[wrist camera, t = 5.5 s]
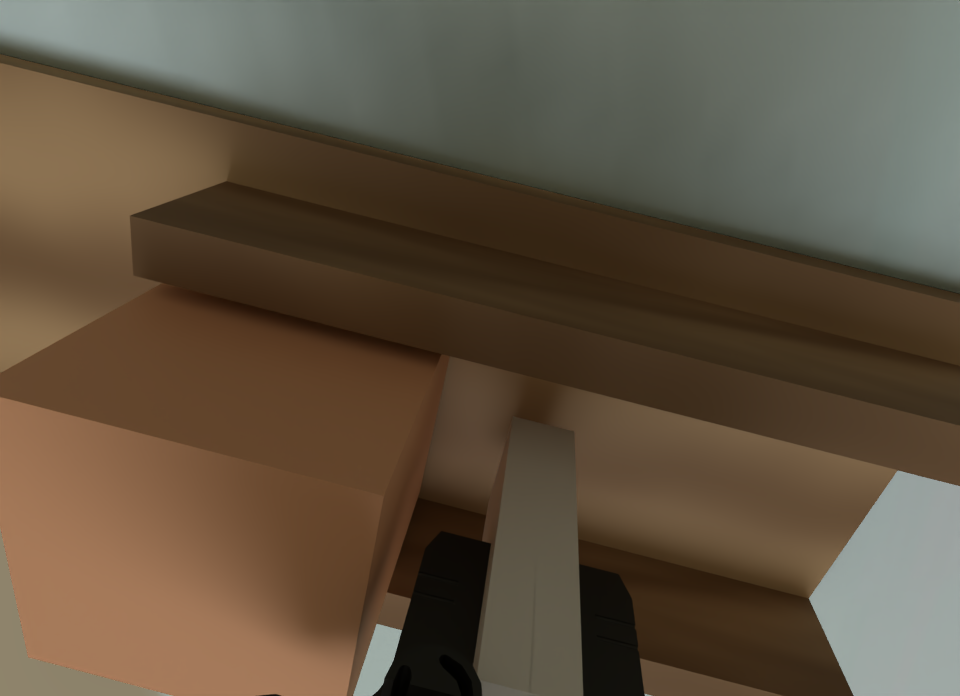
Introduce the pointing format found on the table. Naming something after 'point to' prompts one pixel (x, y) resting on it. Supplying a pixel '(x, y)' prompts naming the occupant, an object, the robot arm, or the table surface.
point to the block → (211, 494)
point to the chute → (520, 348)
